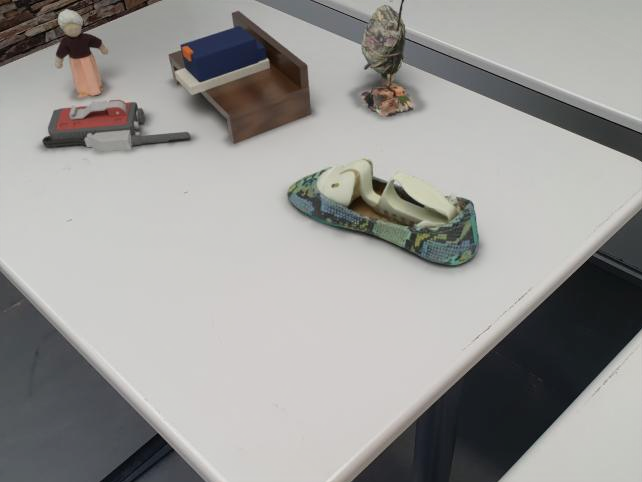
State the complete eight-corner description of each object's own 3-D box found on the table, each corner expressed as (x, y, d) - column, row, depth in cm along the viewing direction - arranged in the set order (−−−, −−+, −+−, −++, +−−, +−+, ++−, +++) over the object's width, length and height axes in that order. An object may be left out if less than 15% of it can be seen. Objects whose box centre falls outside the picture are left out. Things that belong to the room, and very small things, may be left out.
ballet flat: (311, 176, 88) (306, 119, 82) (493, 234, 79) (503, 175, 73) (273, 216, 83) (265, 159, 77) (462, 282, 74) (470, 224, 68)
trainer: (191, 95, 92) (184, 60, 89) (176, 79, 95) (168, 45, 92) (270, 68, 96) (266, 33, 93) (252, 53, 99) (248, 19, 96)
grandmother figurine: (76, 109, 101) (46, 23, 92) (65, 99, 103) (34, 14, 94) (123, 90, 104) (98, 5, 95) (111, 80, 106) (86, -4, 97)
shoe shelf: (234, 148, 92) (225, 94, 86) (175, 85, 104) (163, 33, 98) (311, 119, 96) (307, 64, 90) (245, 61, 108) (238, 10, 102)
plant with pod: (401, 76, 103) (406, -71, 88) (424, 116, 95) (433, -37, 80) (347, 84, 102) (343, -62, 87) (366, 125, 94) (366, -27, 79)
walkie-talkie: (42, 161, 93) (191, 148, 93) (30, 133, 89) (185, 119, 90) (54, 125, 98) (194, 113, 99) (43, 97, 95) (188, 84, 95)
